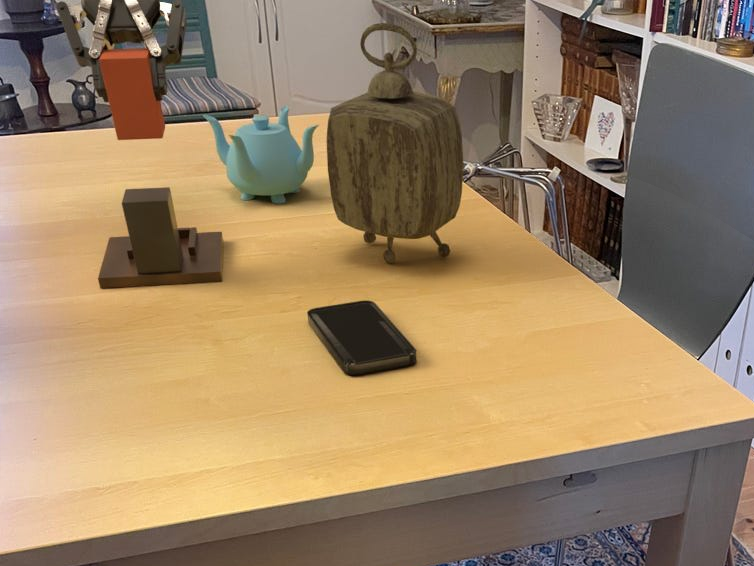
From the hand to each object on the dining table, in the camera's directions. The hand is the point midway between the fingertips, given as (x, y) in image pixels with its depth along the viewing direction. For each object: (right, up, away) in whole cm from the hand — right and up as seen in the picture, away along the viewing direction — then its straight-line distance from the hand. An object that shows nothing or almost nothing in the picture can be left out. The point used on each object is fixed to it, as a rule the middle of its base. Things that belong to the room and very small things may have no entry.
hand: (132, 96), depth 104 cm
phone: (+26, -29, -4) cm, 39 cm away
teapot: (+8, +4, +32) cm, 34 cm away
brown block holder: (0, -14, +12) cm, 18 cm away
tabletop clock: (+28, -12, +14) cm, 34 cm away
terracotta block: (0, -2, +4) cm, 5 cm away
